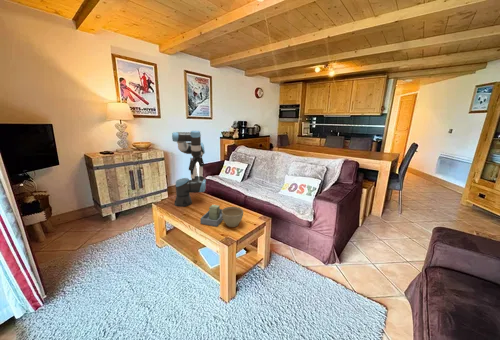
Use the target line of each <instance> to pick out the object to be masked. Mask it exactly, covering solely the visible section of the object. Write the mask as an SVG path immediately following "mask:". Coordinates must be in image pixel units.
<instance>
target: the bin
mask: <svg viewBox="0 0 500 340" xmlns="http://www.w3.org/2000/svg"><path fill="white" fill-rule="evenodd" d="M223 209H224V208H223ZM223 209H222V208H220V217H219V218H218V220H217V221H216V220H210V219H209V210H208V211H207V212H206V213H204V214H203V215H202V216H201V218H200V225H205V226H211V227H217V228H218V226H219V225H221V223H222V222H224V220H223V217H222V210H223Z"/></svg>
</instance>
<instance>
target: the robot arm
mask: <svg viewBox="0 0 500 340" xmlns="http://www.w3.org/2000/svg"><path fill="white" fill-rule="evenodd" d="M201 137H202V134H201V131H200V130H191V131H190V132H185V131H184V132H181V131H180V132H179V131H175V132H174V131H173V132H172V136H171V138H172V139H171V140H172V142H176V144H177V149H178V150H179V151H180V152H181V153H183V154H186V155H191V156H192V157H190V162H189V166H188V171H190V179H189V178H188V177H181V178H179V179H176V181H175V199H174V206H175V207H177V208H178V207H180V208H183V207H189V206H191V205H192V204H193V200H192V197H191V195H190V193H191V194H192V193H204V192H205V191H206V187H207V186H206V183H207V179H205V177H204V176H203V174H204V168H203V167H205V163H204V160H203V157H204V154H205V153H206V152H205V146H204V143H203V142H202V140H201Z"/></svg>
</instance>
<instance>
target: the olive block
mask: <svg viewBox="0 0 500 340" xmlns="http://www.w3.org/2000/svg"><path fill="white" fill-rule="evenodd" d="M208 209H209V210H208V211H209V219H210V220H216V221H217V220H218V218H219V217H220V209H221V208H220V205H218V204H217V205H216V204H212V205H210V206H209V207H208Z"/></svg>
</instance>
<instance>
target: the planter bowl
mask: <svg viewBox="0 0 500 340" xmlns="http://www.w3.org/2000/svg"><path fill="white" fill-rule="evenodd" d="M222 217H223V222H224V223H225V225H226V226H227V227H229V228H234V227H235V228H236V227H238V226H239V224H240V223H241V221H242V219H243V217H244V210H243V209H242V208H241V207H238V206H227V207H224V208H223V210H222Z"/></svg>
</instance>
